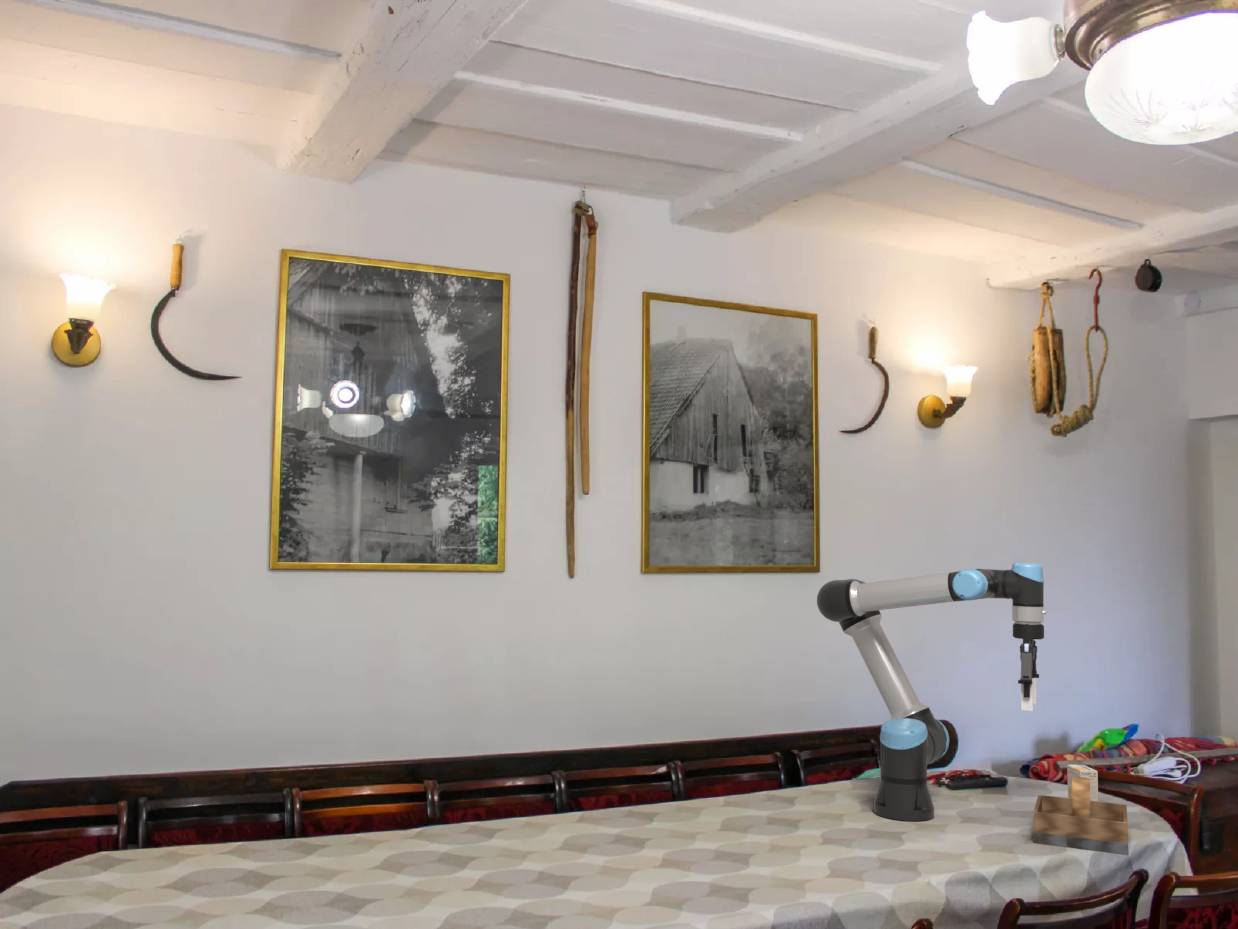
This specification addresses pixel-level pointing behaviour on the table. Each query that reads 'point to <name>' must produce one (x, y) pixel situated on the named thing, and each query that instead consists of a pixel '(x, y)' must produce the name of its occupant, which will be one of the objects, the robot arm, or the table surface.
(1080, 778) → the dowel
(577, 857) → the table surface
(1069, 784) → the supplement box
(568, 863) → the table surface
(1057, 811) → the box
